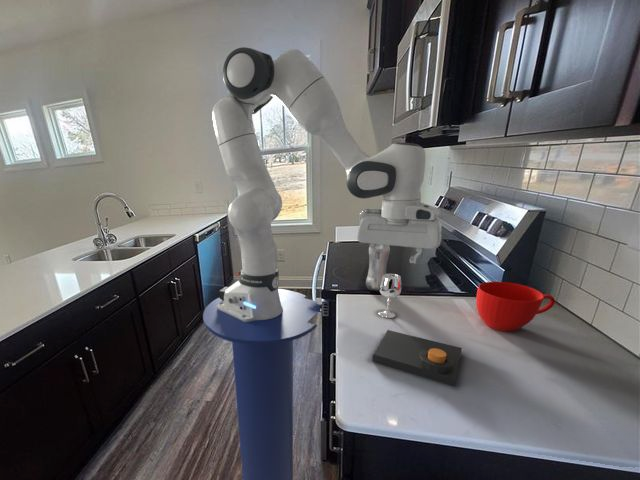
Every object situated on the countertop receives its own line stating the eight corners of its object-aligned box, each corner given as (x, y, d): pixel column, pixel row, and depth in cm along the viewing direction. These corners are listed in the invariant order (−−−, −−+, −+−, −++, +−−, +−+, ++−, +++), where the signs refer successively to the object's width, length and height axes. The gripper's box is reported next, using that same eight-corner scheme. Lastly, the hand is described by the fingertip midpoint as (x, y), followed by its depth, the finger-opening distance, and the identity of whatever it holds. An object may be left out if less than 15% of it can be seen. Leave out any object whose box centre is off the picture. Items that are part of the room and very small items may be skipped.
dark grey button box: (371, 361, 73) (373, 348, 72) (386, 336, 82) (388, 324, 81) (454, 386, 64) (457, 372, 62) (460, 354, 73) (463, 341, 72)
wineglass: (395, 320, 89) (400, 281, 85) (374, 316, 93) (378, 277, 88) (399, 312, 94) (405, 274, 89) (379, 308, 97) (383, 271, 93)
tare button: (426, 360, 67) (427, 353, 66) (428, 353, 69) (430, 346, 68) (444, 365, 65) (445, 358, 64) (445, 358, 67) (447, 351, 67)
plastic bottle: (383, 295, 106) (389, 236, 99) (362, 291, 110) (367, 234, 103) (388, 288, 111) (394, 232, 103) (368, 285, 115) (373, 230, 107)
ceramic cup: (564, 339, 76) (578, 302, 73) (485, 337, 79) (495, 300, 76) (528, 315, 88) (539, 281, 84) (461, 313, 91) (468, 281, 87)
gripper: (355, 210, 86) (352, 259, 91) (443, 213, 74) (434, 269, 79) (363, 207, 90) (359, 253, 95) (446, 209, 79) (437, 262, 84)
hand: (394, 260), depth 87 cm, fingers open, 8 cm apart
